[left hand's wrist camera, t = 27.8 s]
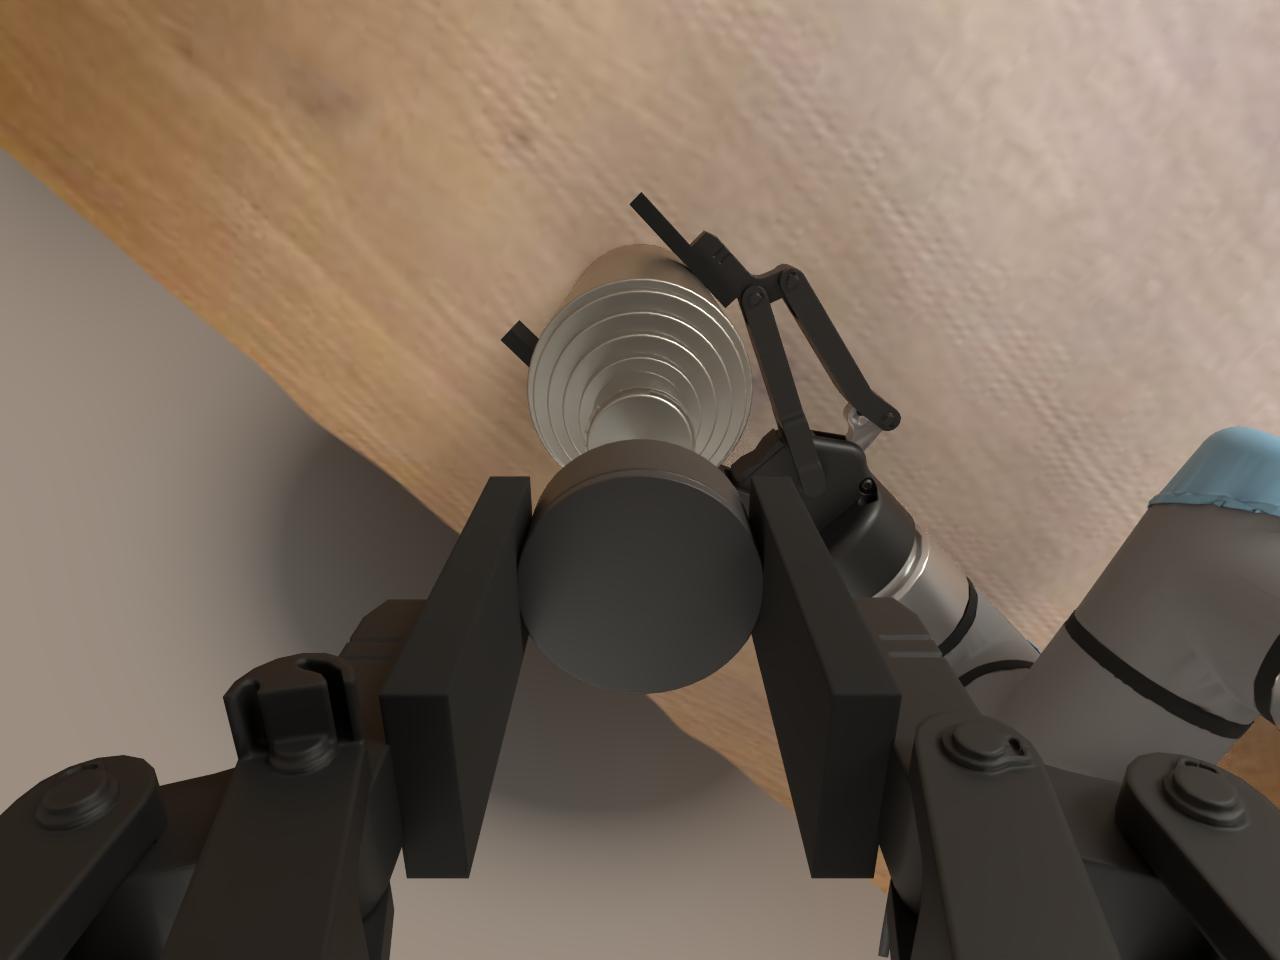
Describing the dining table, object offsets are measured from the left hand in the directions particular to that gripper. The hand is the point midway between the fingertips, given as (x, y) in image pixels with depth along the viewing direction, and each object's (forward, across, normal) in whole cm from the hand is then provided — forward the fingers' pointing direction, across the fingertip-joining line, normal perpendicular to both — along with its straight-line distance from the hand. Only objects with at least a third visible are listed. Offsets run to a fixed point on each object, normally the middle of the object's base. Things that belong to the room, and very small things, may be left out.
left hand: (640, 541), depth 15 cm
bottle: (+31, 0, -1) cm, 31 cm away
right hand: (+24, -3, +3) cm, 25 cm away
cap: (-2, 0, 0) cm, 2 cm away
